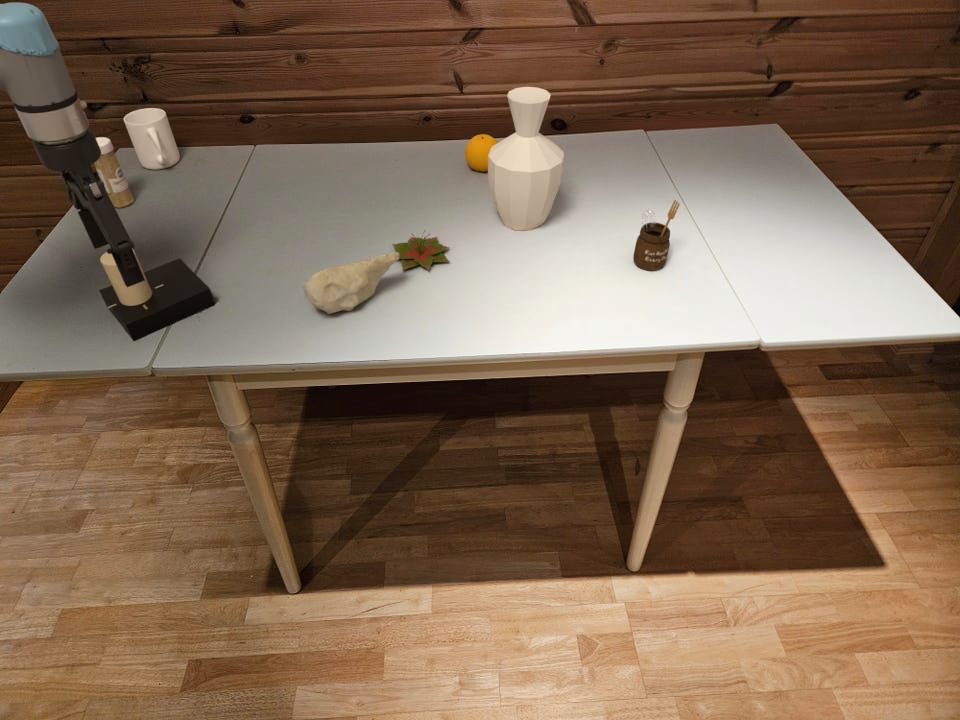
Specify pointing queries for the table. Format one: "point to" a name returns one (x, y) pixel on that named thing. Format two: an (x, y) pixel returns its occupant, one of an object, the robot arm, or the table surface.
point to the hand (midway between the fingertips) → (118, 263)
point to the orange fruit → (479, 151)
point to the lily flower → (420, 252)
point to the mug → (152, 138)
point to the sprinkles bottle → (112, 175)
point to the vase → (525, 164)
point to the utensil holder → (653, 243)
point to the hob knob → (125, 294)
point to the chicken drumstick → (347, 283)
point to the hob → (161, 300)
